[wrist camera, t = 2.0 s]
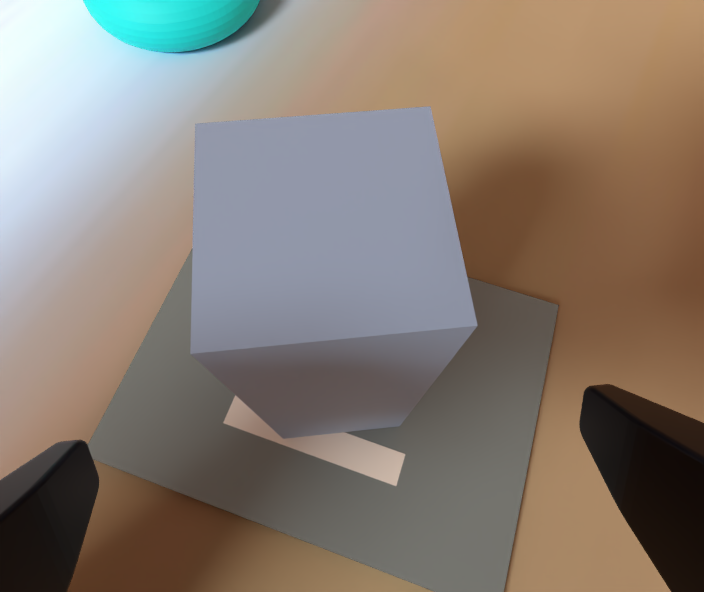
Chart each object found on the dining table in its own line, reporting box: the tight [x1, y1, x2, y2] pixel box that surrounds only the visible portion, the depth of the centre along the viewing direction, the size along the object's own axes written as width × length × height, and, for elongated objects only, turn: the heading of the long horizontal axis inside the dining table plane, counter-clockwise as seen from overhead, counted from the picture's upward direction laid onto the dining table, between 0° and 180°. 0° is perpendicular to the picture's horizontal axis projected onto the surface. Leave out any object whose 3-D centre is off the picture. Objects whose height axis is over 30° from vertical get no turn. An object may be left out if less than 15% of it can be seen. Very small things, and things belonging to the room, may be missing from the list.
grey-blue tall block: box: [190, 107, 478, 439], centre depth 14 cm, size 4×4×12 cm
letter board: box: [88, 248, 559, 592], centre depth 20 cm, size 12×16×1 cm
